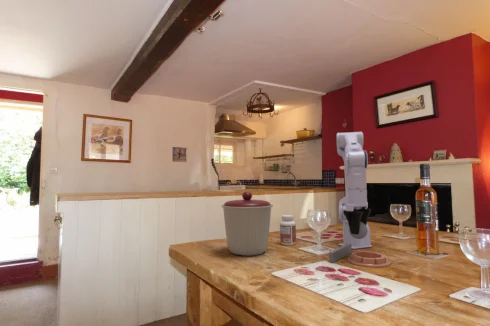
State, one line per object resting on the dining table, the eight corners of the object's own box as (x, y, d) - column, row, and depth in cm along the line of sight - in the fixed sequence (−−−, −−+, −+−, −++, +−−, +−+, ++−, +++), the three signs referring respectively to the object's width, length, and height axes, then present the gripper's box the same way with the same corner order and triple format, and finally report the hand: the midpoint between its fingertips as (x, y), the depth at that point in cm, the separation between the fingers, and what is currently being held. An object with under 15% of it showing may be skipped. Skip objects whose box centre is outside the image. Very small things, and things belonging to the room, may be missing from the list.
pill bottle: (291, 241, 119) (290, 214, 119) (299, 244, 113) (298, 216, 114) (277, 243, 117) (277, 215, 117) (284, 246, 111) (284, 216, 111)
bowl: (368, 255, 97) (367, 248, 97) (399, 264, 86) (399, 257, 86) (339, 259, 92) (339, 252, 92) (369, 269, 81) (368, 262, 81)
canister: (226, 261, 91) (225, 193, 92) (218, 248, 108) (218, 191, 110) (281, 257, 95) (280, 192, 96) (264, 245, 112) (264, 190, 114)
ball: (358, 236, 94) (358, 219, 95) (371, 239, 89) (371, 221, 90) (345, 238, 92) (344, 220, 93) (358, 241, 87) (357, 222, 88)
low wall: (348, 252, 101) (347, 243, 101) (351, 252, 100) (351, 243, 100) (329, 262, 88) (329, 252, 88) (333, 263, 88) (332, 252, 88)
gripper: (352, 188, 100) (353, 228, 99) (335, 189, 89) (336, 234, 88) (373, 188, 96) (375, 230, 95) (359, 189, 84) (360, 237, 84)
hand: (358, 232), depth 91 cm, fingers closed on ball, 5 cm apart
